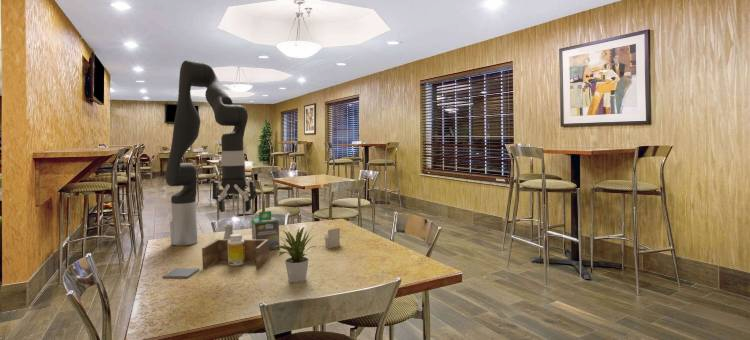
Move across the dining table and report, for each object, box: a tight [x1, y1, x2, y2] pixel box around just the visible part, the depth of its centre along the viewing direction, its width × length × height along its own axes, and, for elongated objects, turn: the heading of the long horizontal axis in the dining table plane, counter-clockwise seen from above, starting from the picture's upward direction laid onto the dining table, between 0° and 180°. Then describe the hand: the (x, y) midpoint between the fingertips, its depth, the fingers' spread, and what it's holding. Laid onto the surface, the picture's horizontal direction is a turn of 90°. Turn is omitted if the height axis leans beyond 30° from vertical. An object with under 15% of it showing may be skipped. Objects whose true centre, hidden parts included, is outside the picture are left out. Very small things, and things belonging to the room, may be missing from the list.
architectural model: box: [323, 227, 342, 249], centre depth 173 cm, size 3×7×7 cm, turn 133°
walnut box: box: [201, 239, 270, 270], centre depth 150 cm, size 19×12×7 cm, turn 88°
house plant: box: [274, 226, 317, 283], centre depth 133 cm, size 14×14×16 cm
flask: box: [222, 224, 234, 240], centre depth 166 cm, size 7×7×10 cm
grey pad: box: [162, 267, 200, 279], centre depth 139 cm, size 8×8×1 cm
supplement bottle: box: [227, 233, 246, 267], centre depth 149 cm, size 6×6×10 cm
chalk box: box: [250, 210, 281, 252], centre depth 169 cm, size 9×9×15 cm
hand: (235, 211), depth 148 cm, fingers open, 8 cm apart
